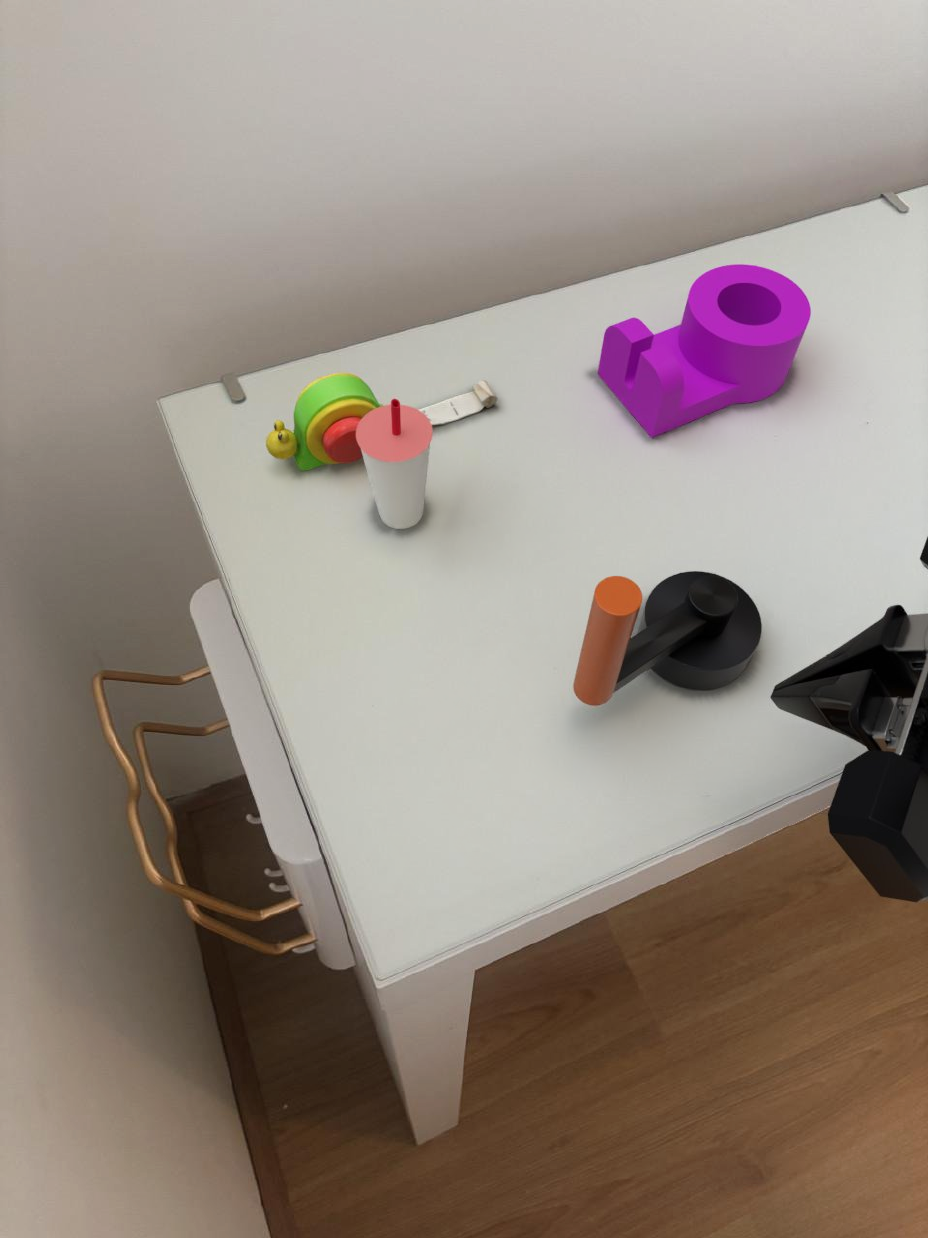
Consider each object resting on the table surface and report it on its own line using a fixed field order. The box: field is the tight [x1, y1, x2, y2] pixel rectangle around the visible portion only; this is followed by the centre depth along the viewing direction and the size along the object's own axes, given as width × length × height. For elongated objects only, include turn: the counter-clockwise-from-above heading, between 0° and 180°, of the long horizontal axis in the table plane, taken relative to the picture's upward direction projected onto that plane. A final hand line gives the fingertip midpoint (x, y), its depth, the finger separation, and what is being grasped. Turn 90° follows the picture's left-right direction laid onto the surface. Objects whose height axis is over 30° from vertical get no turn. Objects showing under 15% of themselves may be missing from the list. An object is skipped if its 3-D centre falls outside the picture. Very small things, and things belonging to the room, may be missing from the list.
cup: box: [356, 398, 434, 530], centre depth 66 cm, size 5×5×12 cm
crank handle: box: [572, 575, 738, 707], centre depth 56 cm, size 13×3×12 cm, turn 126°
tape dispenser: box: [597, 263, 812, 439], centre depth 77 cm, size 16×10×6 cm, turn 118°
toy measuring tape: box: [265, 372, 497, 472], centre depth 73 cm, size 6×20×7 cm, turn 114°
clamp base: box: [637, 570, 763, 691], centre depth 64 cm, size 8×8×3 cm
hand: (776, 697), depth 50 cm, fingers closed
